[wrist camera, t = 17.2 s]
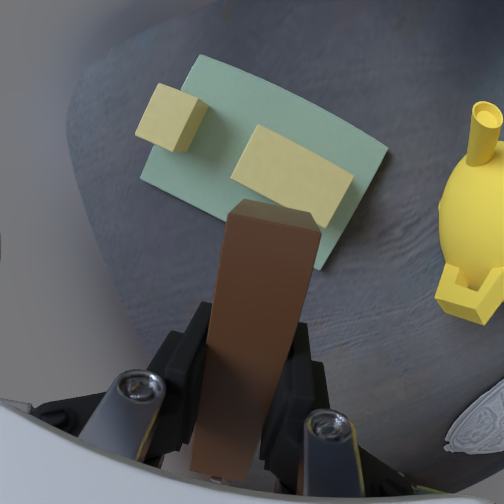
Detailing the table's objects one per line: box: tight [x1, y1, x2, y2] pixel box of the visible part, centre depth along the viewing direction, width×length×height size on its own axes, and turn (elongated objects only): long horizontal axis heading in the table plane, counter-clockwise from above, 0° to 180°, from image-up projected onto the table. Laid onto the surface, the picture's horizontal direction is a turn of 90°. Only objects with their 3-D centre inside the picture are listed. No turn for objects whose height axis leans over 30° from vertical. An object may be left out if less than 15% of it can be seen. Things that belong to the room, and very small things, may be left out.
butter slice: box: [135, 83, 209, 153], centre depth 21 cm, size 3×4×3 cm
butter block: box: [230, 124, 354, 228], centre depth 21 cm, size 7×4×3 cm, turn 63°
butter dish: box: [140, 54, 388, 271], centre depth 23 cm, size 16×11×1 cm
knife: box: [190, 199, 322, 484], centre depth 12 cm, size 21×2×3 cm, turn 169°
